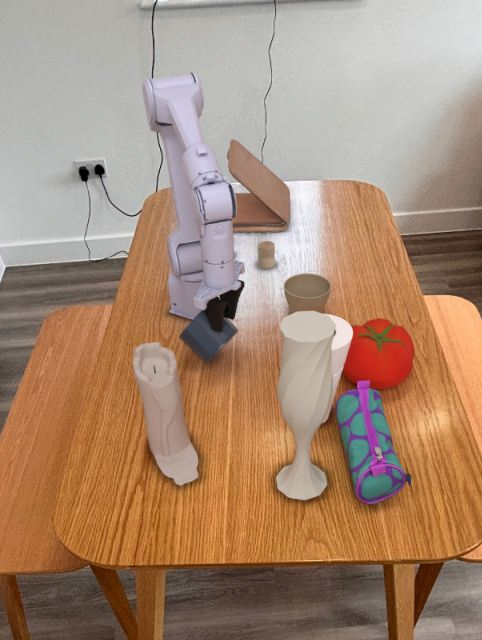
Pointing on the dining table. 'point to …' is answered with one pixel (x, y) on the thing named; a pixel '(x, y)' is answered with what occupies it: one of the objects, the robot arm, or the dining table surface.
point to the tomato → (379, 354)
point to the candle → (164, 412)
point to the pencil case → (369, 445)
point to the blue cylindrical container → (207, 336)
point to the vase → (305, 395)
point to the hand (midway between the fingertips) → (223, 324)
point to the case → (257, 193)
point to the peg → (266, 255)
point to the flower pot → (307, 292)
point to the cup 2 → (339, 351)
